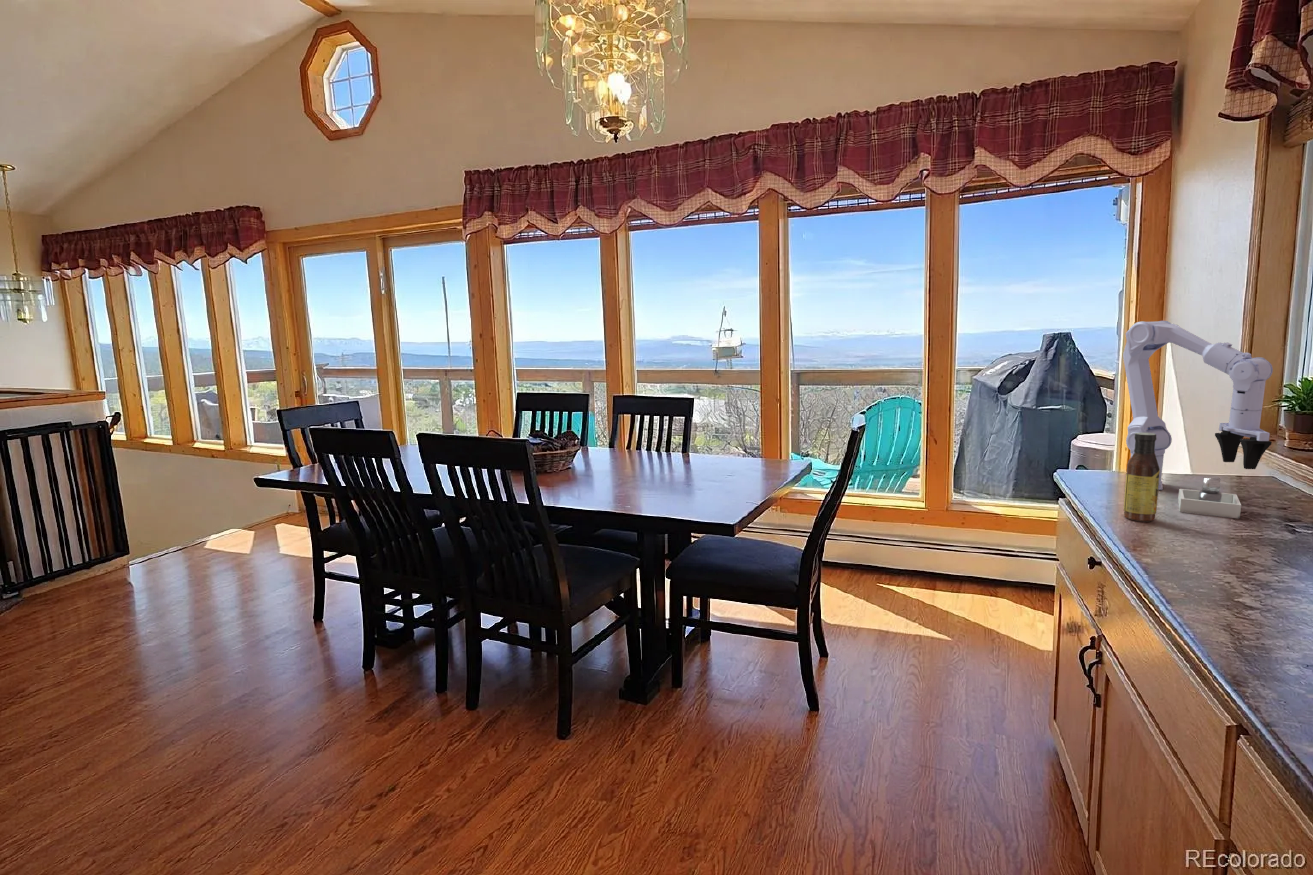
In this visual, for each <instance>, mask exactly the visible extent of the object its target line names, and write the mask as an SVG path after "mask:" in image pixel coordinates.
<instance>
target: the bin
mask: <svg viewBox="0 0 1313 875" xmlns="http://www.w3.org/2000/svg"><path fill="white" fill-rule="evenodd" d="M1199 491H1200V490H1196V489H1187V488H1179V489H1178V498H1177V501H1178V502H1177V504H1178V510H1179V512H1180V513H1187V514H1193V515H1194V514H1196V515H1203V516H1212V517H1220V518H1221V517H1223V518H1231V519H1238V520H1239V519H1240V518H1241V510H1242V504H1241V502H1240V499H1239V497H1238V495H1237V493H1227V492H1221V493H1222V497H1221V502H1213V501H1203V500H1199Z"/></svg>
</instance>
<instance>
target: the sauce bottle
mask: <svg viewBox="0 0 1313 875" xmlns="http://www.w3.org/2000/svg"><path fill="white" fill-rule="evenodd" d="M1155 441H1156V434H1154V433H1135V449H1134V454H1133V456H1132V457H1131V456H1130V458H1129V459H1128V461H1127V468H1126V474H1125V484H1124V485H1125V486H1124V488H1125V489H1124V496H1123V497H1124V500H1123V511H1124V512H1123V516H1124V517H1125V518H1126V519H1128V520H1131V521H1134V522H1153V521H1154V520H1155V519H1156V514H1157V510H1158V509H1157V508H1158V497H1159V490H1158V486H1159V473H1160V468H1159V465H1158V462H1157V459H1156V455H1155V451H1154V449H1155Z"/></svg>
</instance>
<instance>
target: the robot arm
mask: <svg viewBox="0 0 1313 875" xmlns="http://www.w3.org/2000/svg"><path fill="white" fill-rule="evenodd" d="M1125 338H1126V343H1125V346H1124V349H1123V356H1122V358H1123V364H1124V370H1125V376H1126V382H1127V383H1126V384H1127V388H1128V396H1129V400H1130V405H1131V406H1130V407H1131V412H1132V420H1131V422H1130V423H1129V424H1128V426H1127V434H1126V435H1127V436H1126V437H1125V438H1126V439H1125V444H1126V447H1127V448H1128V449H1129V450H1130V458H1131V457H1132V456H1133V454H1134V449H1135V433H1154V434H1156V441H1155V449H1154V451H1155V455H1156V459H1157V462H1158V465H1159V468H1160V473H1159V486H1158V491H1159V490H1160V491H1163V489H1164V488H1163V481H1162V475H1163V466H1164V457H1165V456H1164V455H1165V454H1166V450H1168V448H1169V447H1170V446H1171V445H1172V442H1173V439H1172V434H1171V433H1170V432H1169V430H1168V429H1167V424H1166V422H1165V421H1164V420H1163V419H1162V418H1160V416H1159V412H1158V408H1157V403H1156V402H1157V401H1156V397H1155V389H1154V384H1153V379H1152V378H1153V377H1152V373H1151V366H1150V361H1149V360H1150V358H1151V357H1152V356H1153V355H1154V353H1156V351H1158V350H1159V349H1161V348H1162V347H1164V346H1166V345H1168V344H1174V345H1177V346H1178V347H1182V348H1183V349H1186V350H1188V351H1190V352H1193V353H1194V354H1197V355H1200V356H1202V360H1203V363H1204V364H1206V365H1208V366H1210V367H1213V368H1214V369H1217V370H1218V371H1220V372H1223V373H1224V374H1226V375H1229V378H1230V379H1231V381H1232V393H1231V394H1232V395H1231V403H1230V410H1229V411H1230V412H1229V419H1228V422H1219V428H1218V431H1219V432H1216V433H1214V437H1215V439H1216V440H1217V442H1218V445H1219V448H1220V452H1221V457H1222V462H1223V463H1234V462H1235V460H1236V458H1237V455H1238V450H1239V447H1240V445H1241V448H1242V451H1243V452H1242V453H1243V462H1242V464H1243V465H1242V466H1243V469H1244V470H1256V469H1257V467H1258V465H1259V462H1260V460H1261V458H1262V456H1263V455H1264V453H1265V452H1266V451H1267V449H1269V447H1271V446H1272V441H1271V440H1270V434H1271V433H1270V432H1268V431H1265V430H1264V429H1262V428H1260V426H1261V419H1262V411H1263V405H1264V404H1263V403H1264V397H1265V390H1266V389H1265V388H1266V381H1267V380H1268V379H1270V378H1271V377H1272V374H1273V372H1274V371H1273V370H1274V368H1273V365H1272V363H1271V362H1269V361H1268V360H1267V359H1266V358H1265V357H1261V356H1260V357H1259V356H1257V357H1252V354H1251V353H1250V352H1243V351H1241V350H1239V349H1236V348H1234V347H1232V346H1233V344H1232V343H1230V342H1216V343H1213V344H1212V343H1211V342H1209V341H1207V340H1206V339H1203V338H1202V337H1199V336H1198V335H1195V334H1194V333H1192V332H1190V331H1188V330H1187V329H1185V328H1183V327H1181V326H1179V325H1178V324H1175V323H1172V322H1170V321H1168V320H1159V321H1144V320H1143V321H1137V322H1135V323H1134V324H1132V326H1130V328H1129V329H1128V330H1127V331H1126V332H1125ZM1246 437H1247V438H1246Z"/></svg>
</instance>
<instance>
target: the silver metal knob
mask: <svg viewBox="0 0 1313 875" xmlns="http://www.w3.org/2000/svg"><path fill="white" fill-rule="evenodd" d="M1220 487H1221V478H1219V477H1214V476H1204V477H1203V478H1202V487H1201V488H1202V489H1201V490H1198V491H1199V500H1203V501H1213V502H1221V497H1222V493H1223V492H1220Z"/></svg>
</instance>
